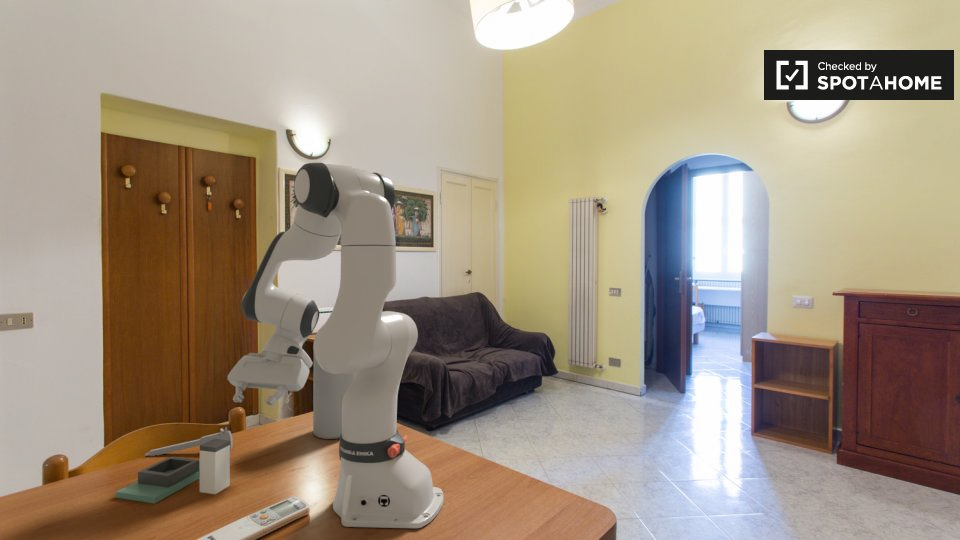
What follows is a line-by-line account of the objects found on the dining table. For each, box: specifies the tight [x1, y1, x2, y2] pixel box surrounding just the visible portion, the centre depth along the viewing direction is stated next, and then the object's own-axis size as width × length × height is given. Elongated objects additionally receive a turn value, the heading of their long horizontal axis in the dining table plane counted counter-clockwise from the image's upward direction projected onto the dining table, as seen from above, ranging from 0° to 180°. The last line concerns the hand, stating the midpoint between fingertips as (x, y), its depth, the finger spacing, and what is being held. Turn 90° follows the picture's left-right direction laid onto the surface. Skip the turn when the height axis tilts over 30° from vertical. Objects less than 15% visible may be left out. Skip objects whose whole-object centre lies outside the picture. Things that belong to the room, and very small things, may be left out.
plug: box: [199, 439, 231, 495], centre depth 97 cm, size 4×4×10 cm
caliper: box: [143, 426, 233, 457], centre depth 116 cm, size 20×1×6 cm, turn 101°
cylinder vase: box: [312, 355, 357, 440], centre depth 131 cm, size 12×12×25 cm
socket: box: [115, 456, 200, 504], centre depth 100 cm, size 10×16×4 cm, turn 167°
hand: (253, 402), depth 109 cm, fingers open, 8 cm apart
